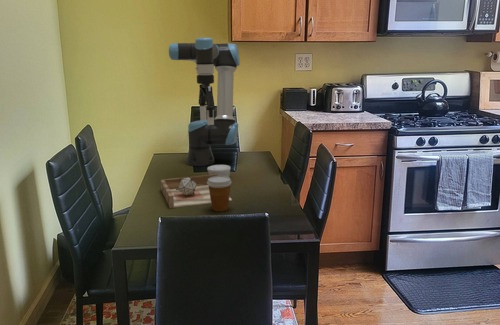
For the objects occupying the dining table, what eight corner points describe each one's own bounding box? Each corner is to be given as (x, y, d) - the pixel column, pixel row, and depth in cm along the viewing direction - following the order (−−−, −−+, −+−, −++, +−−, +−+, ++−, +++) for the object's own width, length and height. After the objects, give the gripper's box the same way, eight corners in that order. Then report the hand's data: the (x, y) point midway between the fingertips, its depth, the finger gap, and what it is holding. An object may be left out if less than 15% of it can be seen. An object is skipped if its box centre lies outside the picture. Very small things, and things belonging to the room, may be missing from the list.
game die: (184, 204, 192) (168, 188, 188) (190, 192, 198) (175, 176, 195) (199, 197, 187) (184, 180, 184) (205, 184, 194) (190, 167, 190)
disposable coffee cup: (203, 209, 177) (201, 180, 174) (218, 202, 184) (217, 174, 181) (222, 214, 172) (221, 184, 169) (237, 207, 179) (236, 177, 176)
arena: (161, 190, 201) (160, 179, 200) (216, 184, 209) (216, 174, 208) (170, 208, 179) (169, 196, 177) (232, 200, 187) (231, 189, 185)
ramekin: (203, 177, 221) (202, 167, 219) (221, 173, 228) (221, 163, 226) (216, 182, 212) (216, 171, 211) (235, 178, 219) (235, 167, 218)
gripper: (190, 73, 208) (192, 118, 214) (203, 76, 185) (205, 127, 191) (206, 72, 211) (208, 118, 216) (221, 75, 188) (222, 126, 193)
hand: (206, 122), depth 203 cm, fingers open, 13 cm apart
